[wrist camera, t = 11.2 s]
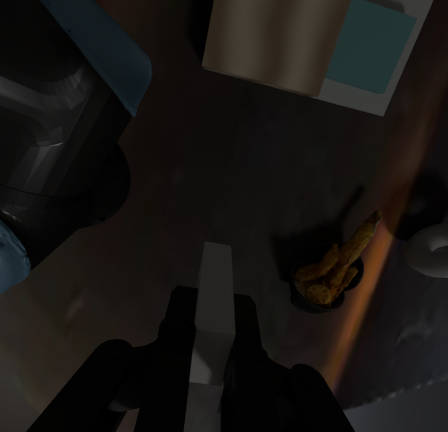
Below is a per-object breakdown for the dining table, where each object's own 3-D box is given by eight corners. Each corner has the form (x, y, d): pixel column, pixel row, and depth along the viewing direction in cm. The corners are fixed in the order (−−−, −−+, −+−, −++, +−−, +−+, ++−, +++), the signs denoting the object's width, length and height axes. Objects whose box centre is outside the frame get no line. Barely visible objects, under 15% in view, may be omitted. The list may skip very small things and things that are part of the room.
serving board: (204, 68, 36) (201, 65, 32) (229, -61, 31) (229, -83, 27) (309, 96, 37) (318, 96, 33) (348, -24, 32) (364, -40, 29)
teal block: (317, 76, 36) (322, 74, 34) (344, 1, 33) (351, -5, 31) (376, 93, 36) (384, 93, 35) (407, 22, 34) (417, 18, 32)
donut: (451, 208, 43) (513, 239, 34) (457, 226, 44) (519, 260, 35) (387, 239, 45) (429, 276, 36) (394, 255, 46) (437, 295, 37)
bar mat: (310, 97, 37) (311, 97, 37) (350, -24, 32) (351, -25, 32) (381, 116, 38) (383, 116, 38) (430, 1, 33) (433, 0, 33)
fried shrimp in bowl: (267, 305, 44) (329, 227, 33) (289, 263, 53) (344, 188, 41) (320, 341, 43) (405, 272, 31) (333, 292, 51) (405, 222, 39)
